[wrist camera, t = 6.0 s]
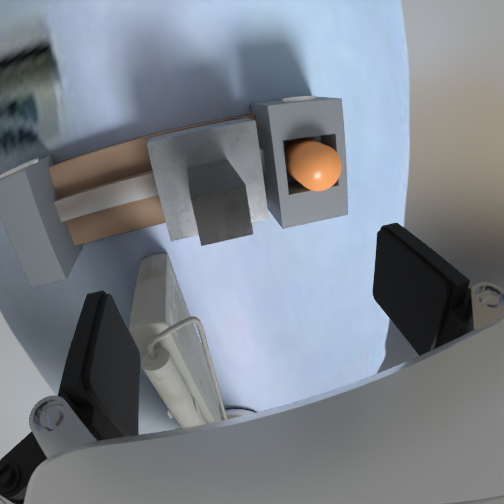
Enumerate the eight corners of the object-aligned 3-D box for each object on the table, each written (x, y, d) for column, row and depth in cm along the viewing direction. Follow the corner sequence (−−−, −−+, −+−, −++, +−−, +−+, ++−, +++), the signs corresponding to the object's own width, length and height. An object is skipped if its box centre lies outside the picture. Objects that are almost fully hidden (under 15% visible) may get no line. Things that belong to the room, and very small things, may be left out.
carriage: (260, 206, 29) (297, 261, 20) (171, 226, 28) (170, 291, 19) (247, 117, 25) (284, 131, 16) (150, 137, 24) (132, 162, 15)
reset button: (322, 174, 28) (342, 187, 24) (283, 180, 27) (299, 195, 24) (318, 134, 26) (339, 142, 22) (278, 140, 25) (294, 148, 22)
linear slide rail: (320, 193, 32) (347, 214, 27) (51, 256, 29) (31, 288, 24) (312, 93, 27) (341, 95, 22) (18, 164, 24) (-12, 182, 19)
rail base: (320, 184, 32) (330, 191, 30) (47, 248, 29) (39, 259, 26) (313, 106, 28) (324, 108, 26) (21, 177, 25) (10, 184, 22)
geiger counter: (108, 359, 19) (208, 484, 32) (197, 340, 20) (258, 474, 32) (129, 259, 31) (196, 401, 44) (188, 244, 32) (237, 392, 44)
